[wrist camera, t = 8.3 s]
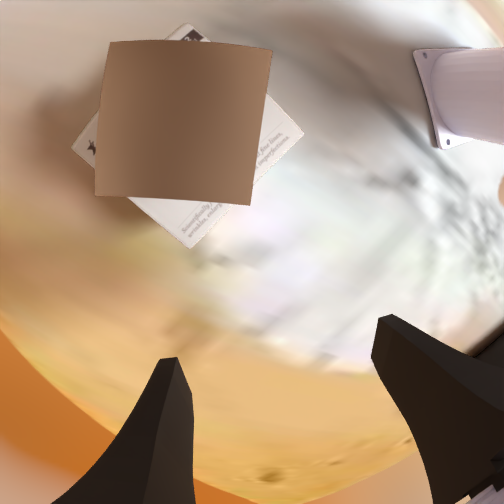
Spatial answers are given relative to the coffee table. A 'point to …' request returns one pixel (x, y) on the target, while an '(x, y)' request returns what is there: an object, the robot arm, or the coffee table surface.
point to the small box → (197, 212)
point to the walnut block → (180, 120)
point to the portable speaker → (494, 353)
